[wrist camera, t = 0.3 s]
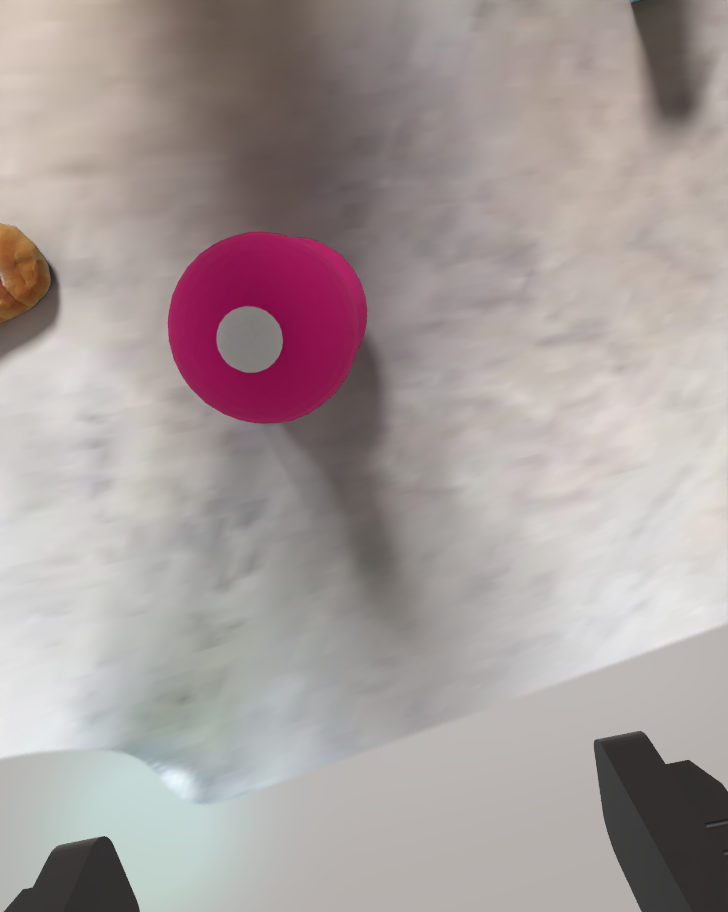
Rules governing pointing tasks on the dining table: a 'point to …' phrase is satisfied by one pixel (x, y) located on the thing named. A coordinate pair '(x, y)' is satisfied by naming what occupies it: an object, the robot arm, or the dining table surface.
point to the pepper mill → (266, 325)
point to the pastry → (20, 273)
